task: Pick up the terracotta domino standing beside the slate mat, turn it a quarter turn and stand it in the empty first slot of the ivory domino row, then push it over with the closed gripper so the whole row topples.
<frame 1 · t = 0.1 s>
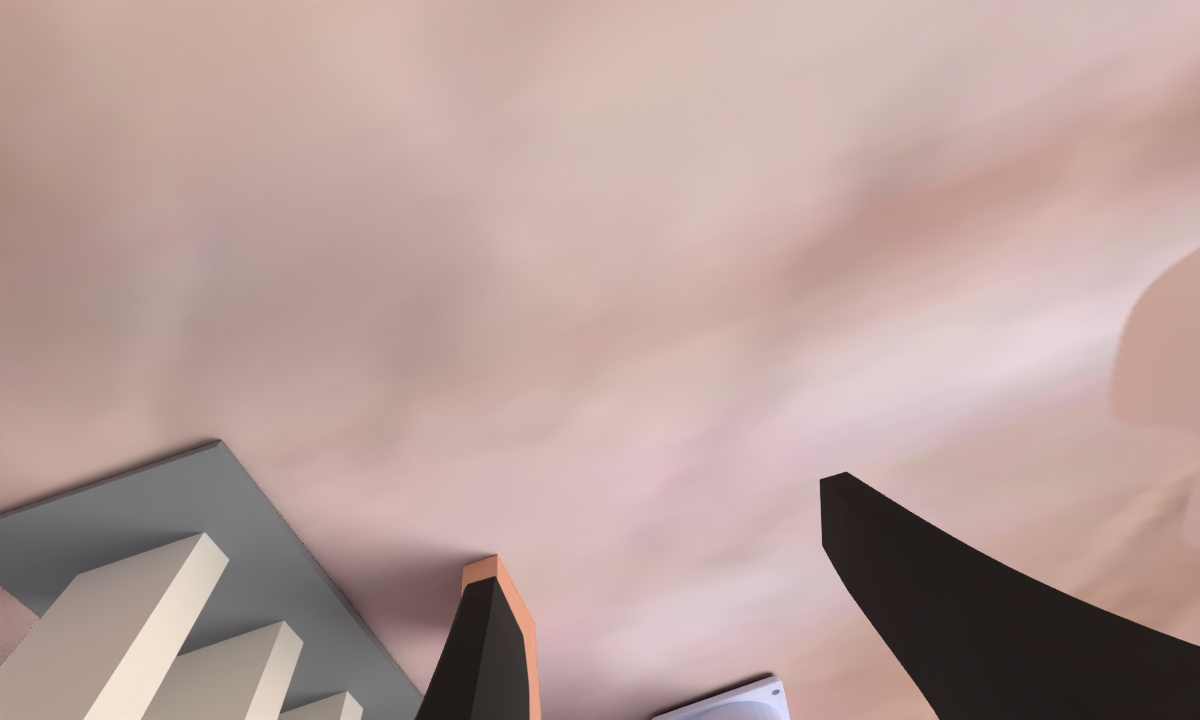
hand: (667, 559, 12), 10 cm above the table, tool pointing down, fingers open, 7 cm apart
slate mat: (308, 708, 27), on the table
domino 4: (238, 650, 24), resting on slate mat
terracotta domino: (500, 595, 26), on the table
domino 5: (155, 567, 21), resting on slate mat
domino 3: (305, 717, 26), resting on slate mat
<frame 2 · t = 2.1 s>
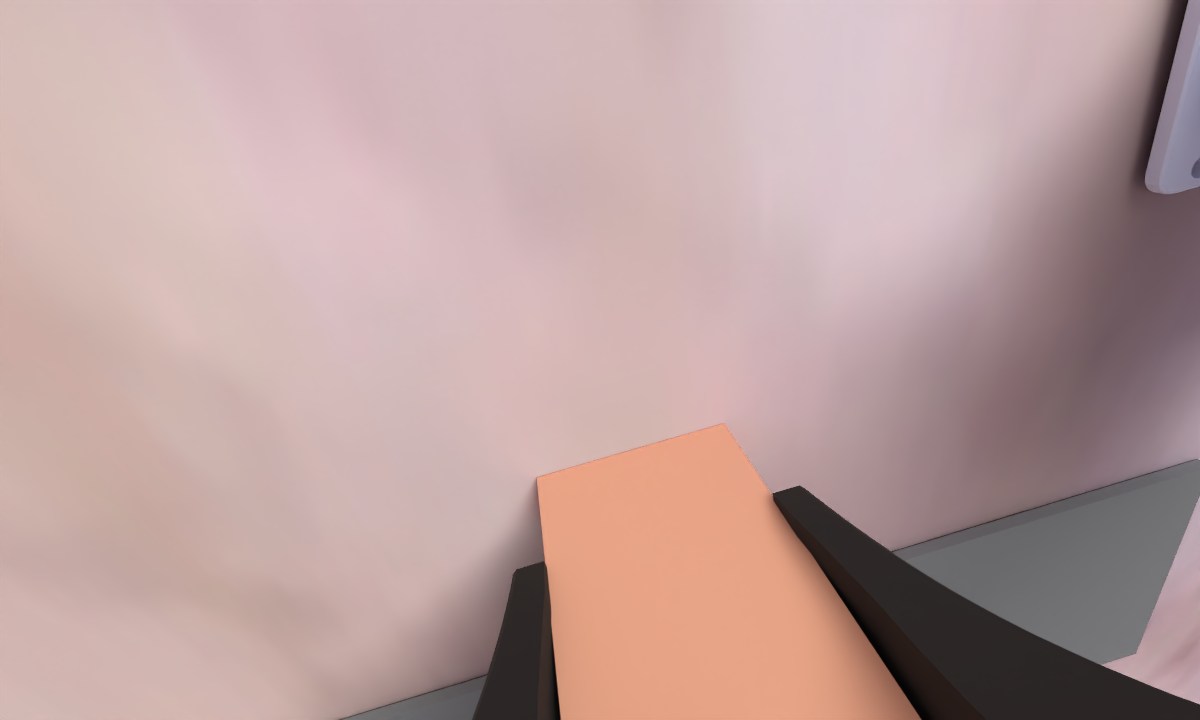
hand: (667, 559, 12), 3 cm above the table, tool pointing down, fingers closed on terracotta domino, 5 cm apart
slate mat: (774, 682, 20), on the table
terracotta domino: (637, 473, 14), on the table, touching gripper
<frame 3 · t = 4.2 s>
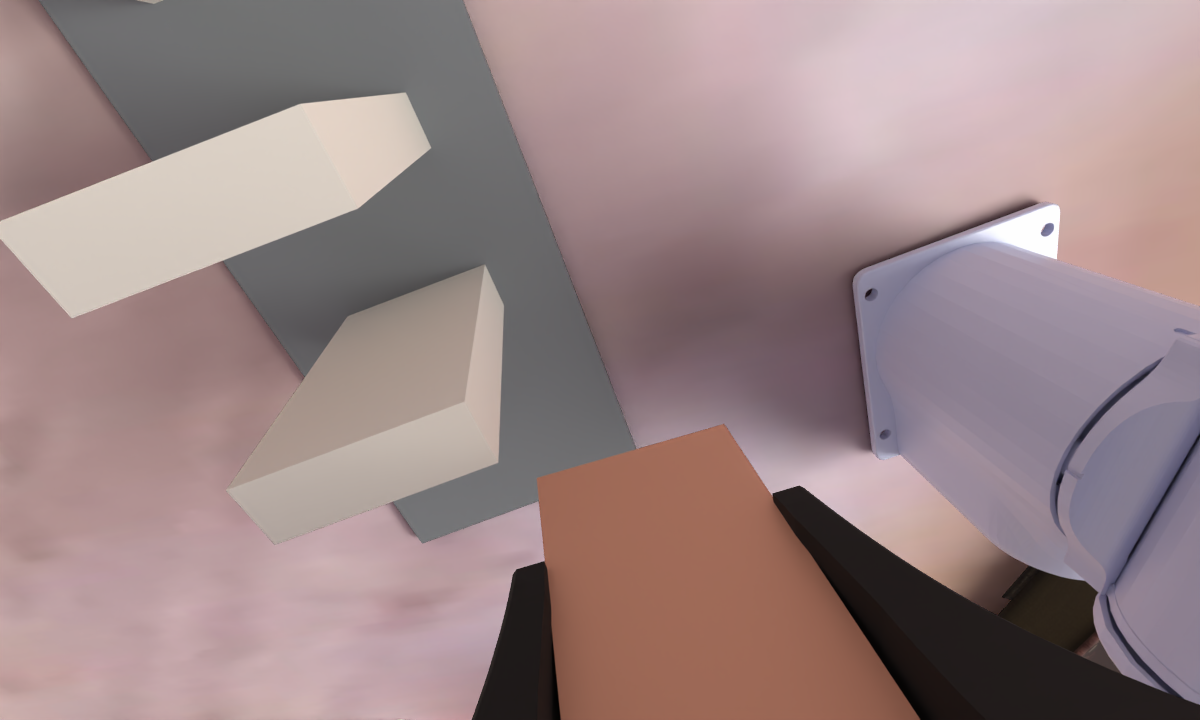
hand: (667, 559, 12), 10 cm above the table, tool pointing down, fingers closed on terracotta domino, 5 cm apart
domino 2: (427, 310, 19), resting on slate mat
slate mat: (344, 149, 17), on the table
terracotta domino: (636, 474, 14), point 7 cm above the table, touching gripper
domino 3: (340, 151, 16), resting on slate mat
diary: (1126, 618, 36), on the table
when the fingers open (5 cm above the table, at t = 6.7 s): terracotta domino drops 1 cm, resting on slate mat.
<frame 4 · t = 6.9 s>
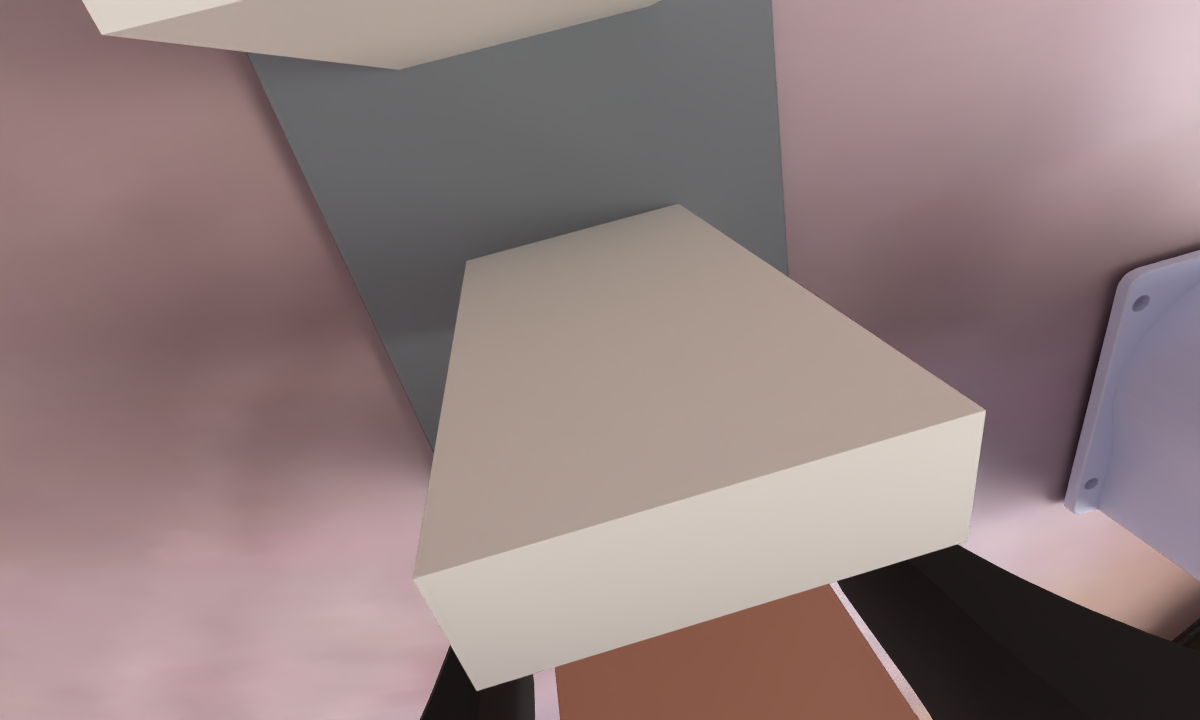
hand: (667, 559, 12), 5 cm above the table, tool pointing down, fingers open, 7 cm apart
domino 2: (581, 264, 13), resting on slate mat
terracotta domino: (627, 448, 15), resting on slate mat
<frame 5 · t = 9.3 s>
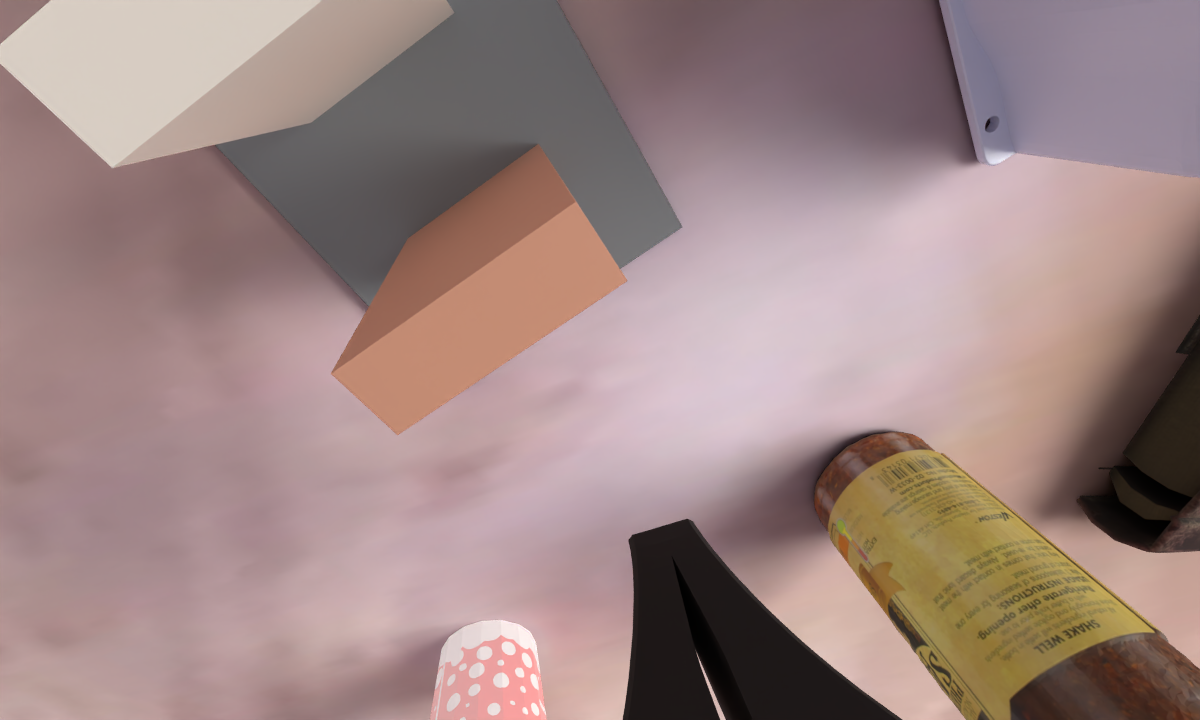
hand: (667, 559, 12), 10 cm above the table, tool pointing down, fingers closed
domino 2: (360, 40, 15), resting on slate mat
sauce bottle: (868, 477, 26), on the table
beverage cup: (489, 648, 27), on the table
terracotta domino: (488, 213, 17), resting on slate mat
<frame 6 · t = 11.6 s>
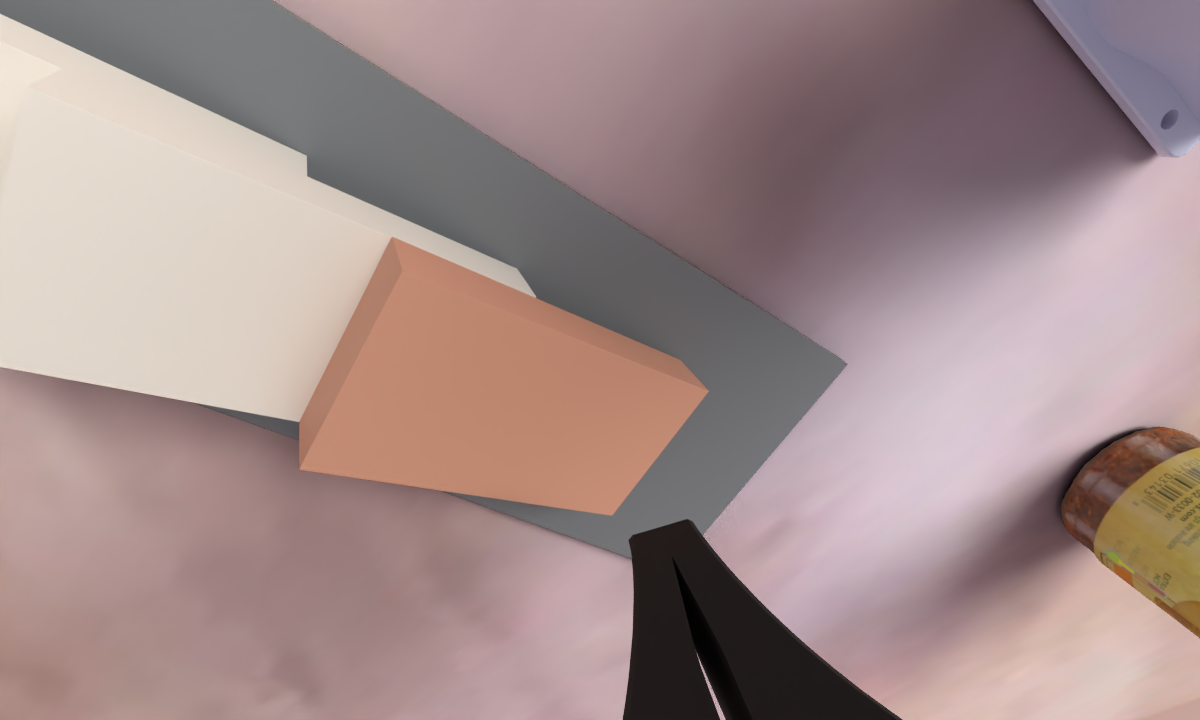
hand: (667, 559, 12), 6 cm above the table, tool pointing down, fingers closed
domino 2: (480, 359, 15), point 1 cm above the table, tilted 73°, touching domino 3, slate mat, terracotta domino
slate mat: (321, 266, 14), on the table
sauce bottle: (1117, 476, 24), on the table
terracotta domino: (645, 438, 17), point 1 cm above the table, tilted 73°, touching domino 2, slate mat
domino 3: (267, 262, 13), point 1 cm above the table, tilted 73°, touching domino 2, domino 4, slate mat
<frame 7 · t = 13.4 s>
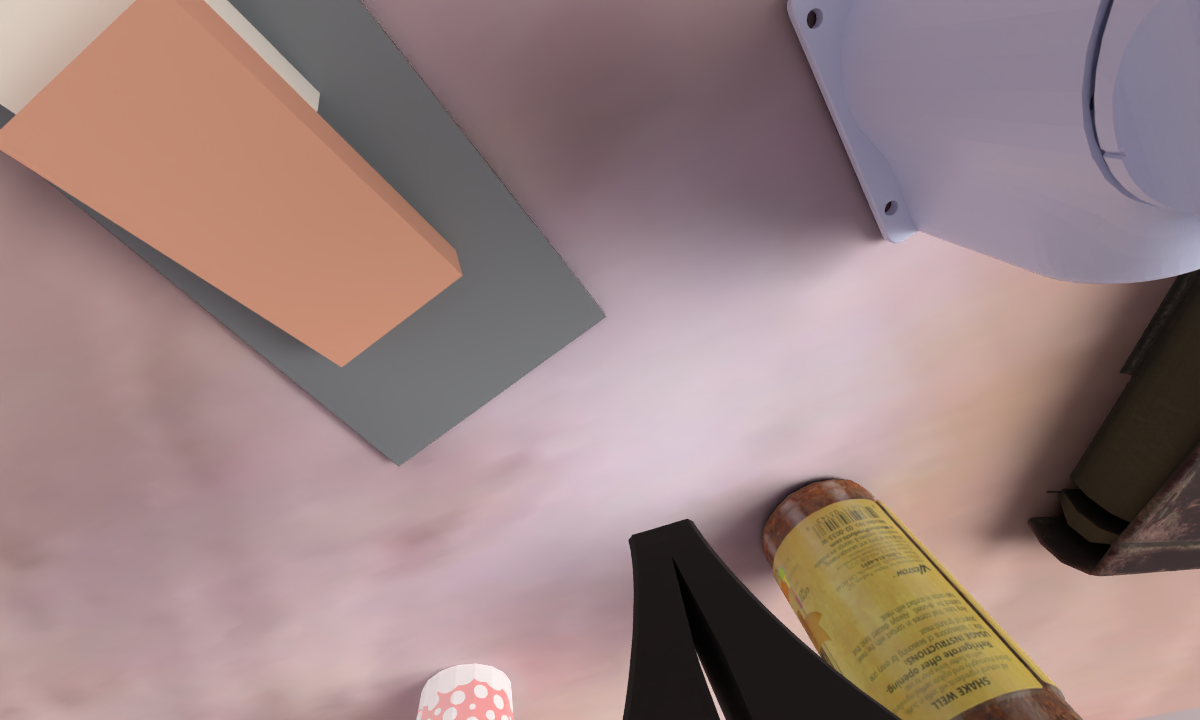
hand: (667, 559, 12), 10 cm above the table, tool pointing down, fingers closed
domino 2: (253, 159, 15), point 1 cm above the table, tilted 73°, touching domino 3, slate mat, terracotta domino
slate mat: (121, 6, 14), on the table
sauce bottle: (815, 519, 28), on the table
beverage cup: (467, 688, 29), on the table
terracotta domino: (399, 308, 18), point 1 cm above the table, tilted 73°, touching domino 2, slate mat
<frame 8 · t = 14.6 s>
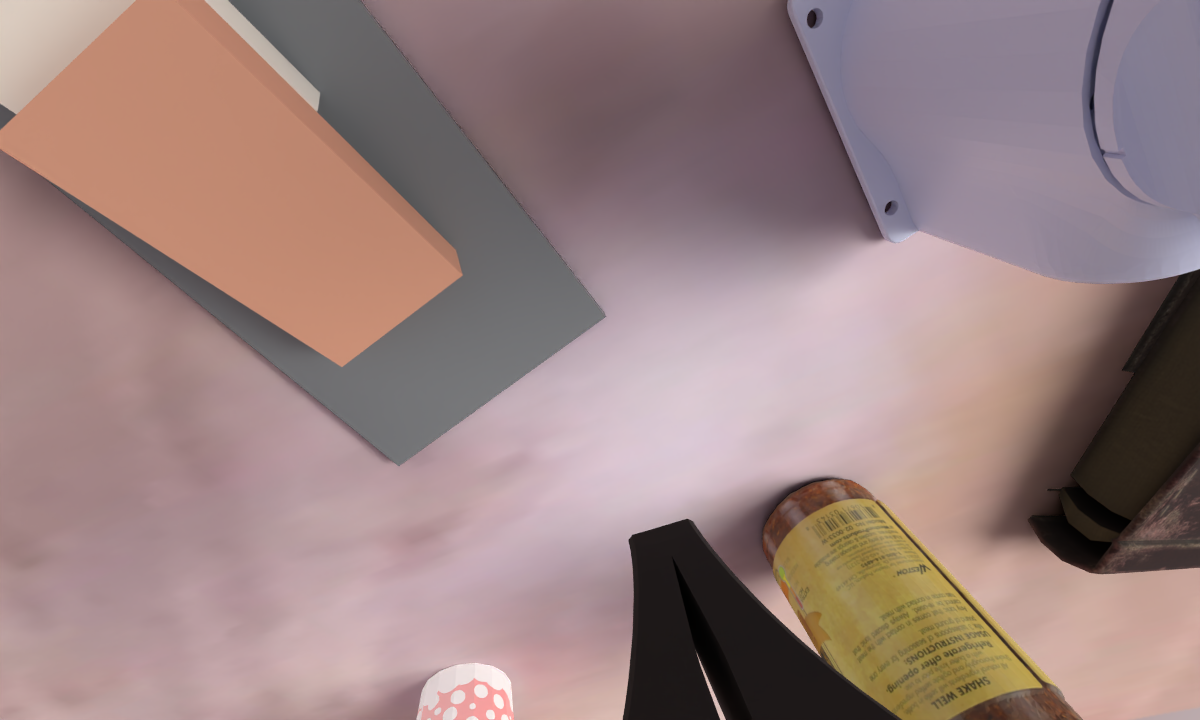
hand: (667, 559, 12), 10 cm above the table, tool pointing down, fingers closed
domino 2: (253, 159, 15), point 1 cm above the table, tilted 73°, touching domino 3, slate mat, terracotta domino
slate mat: (121, 6, 14), on the table
sauce bottle: (815, 518, 28), on the table
beverage cup: (467, 687, 29), on the table
terracotta domino: (399, 307, 18), point 1 cm above the table, tilted 73°, touching domino 2, slate mat
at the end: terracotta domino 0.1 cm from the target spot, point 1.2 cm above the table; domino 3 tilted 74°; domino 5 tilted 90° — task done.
